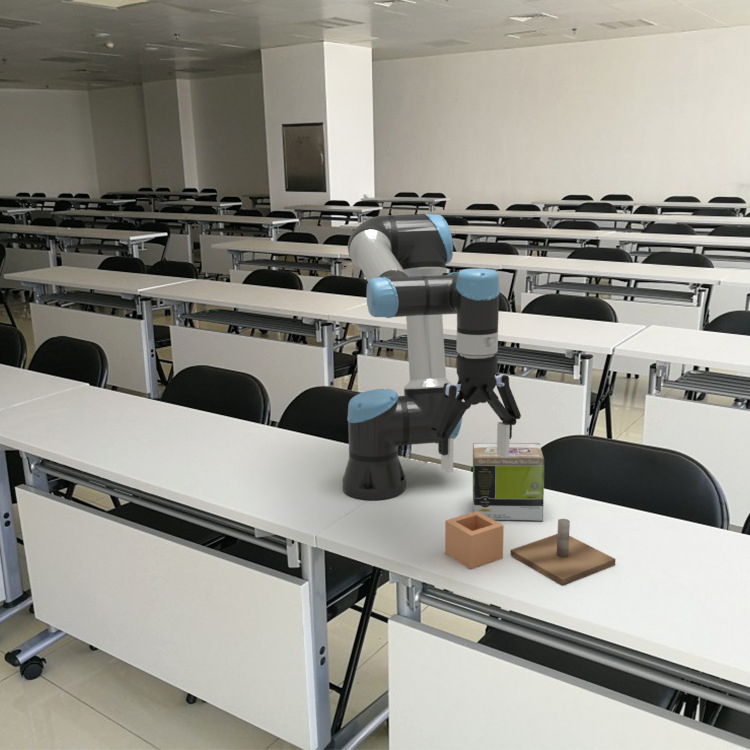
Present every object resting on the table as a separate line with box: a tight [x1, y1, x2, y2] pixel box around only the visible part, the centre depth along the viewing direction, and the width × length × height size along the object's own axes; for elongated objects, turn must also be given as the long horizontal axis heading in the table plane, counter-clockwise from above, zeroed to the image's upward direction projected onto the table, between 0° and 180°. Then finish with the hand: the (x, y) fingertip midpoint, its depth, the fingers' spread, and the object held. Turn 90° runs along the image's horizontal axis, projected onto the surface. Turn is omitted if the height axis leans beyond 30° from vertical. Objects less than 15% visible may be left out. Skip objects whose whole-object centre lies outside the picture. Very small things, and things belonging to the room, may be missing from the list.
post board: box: [510, 518, 616, 586], centre depth 154 cm, size 14×14×8 cm
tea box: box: [472, 442, 545, 522], centre depth 175 cm, size 15×10×15 cm
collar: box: [444, 511, 504, 570], centre depth 156 cm, size 8×8×7 cm
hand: (475, 462), depth 152 cm, fingers open, 13 cm apart
